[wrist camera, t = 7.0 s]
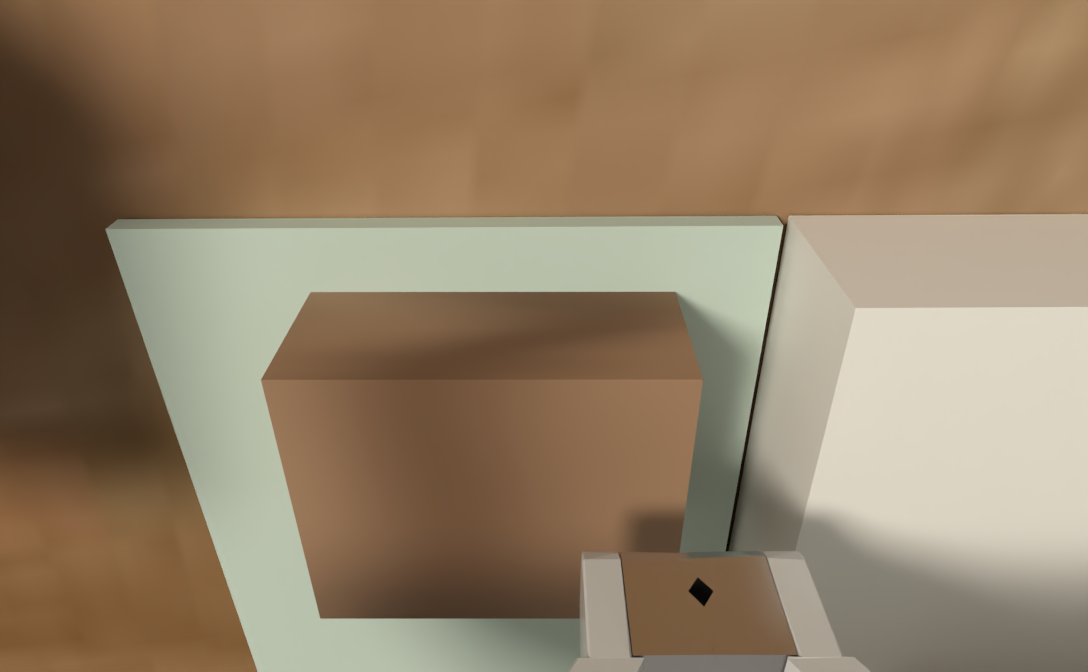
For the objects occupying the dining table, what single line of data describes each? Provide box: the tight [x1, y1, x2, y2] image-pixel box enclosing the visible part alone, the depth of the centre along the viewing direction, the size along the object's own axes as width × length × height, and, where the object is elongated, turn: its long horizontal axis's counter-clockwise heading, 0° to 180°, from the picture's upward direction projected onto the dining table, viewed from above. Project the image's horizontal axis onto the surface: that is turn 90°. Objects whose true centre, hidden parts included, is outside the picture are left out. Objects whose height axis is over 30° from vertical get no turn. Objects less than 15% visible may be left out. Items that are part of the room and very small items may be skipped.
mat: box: [105, 216, 783, 672], centre depth 15 cm, size 11×14×1 cm
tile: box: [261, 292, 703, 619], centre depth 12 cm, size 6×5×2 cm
